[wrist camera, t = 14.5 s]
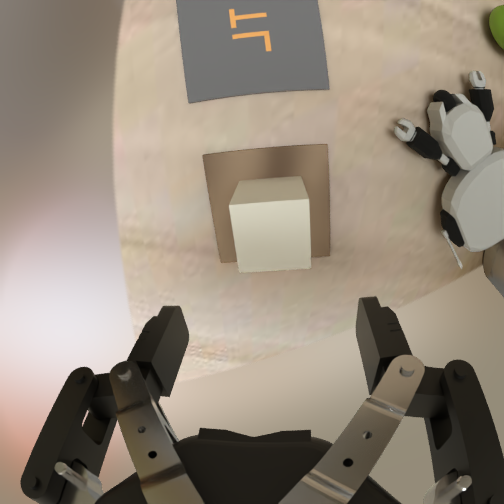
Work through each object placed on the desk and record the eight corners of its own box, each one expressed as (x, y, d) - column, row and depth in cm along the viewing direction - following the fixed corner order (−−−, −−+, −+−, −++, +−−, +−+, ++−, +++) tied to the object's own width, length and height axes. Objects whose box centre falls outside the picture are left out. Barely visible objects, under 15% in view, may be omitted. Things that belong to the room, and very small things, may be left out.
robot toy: (374, 126, 22) (445, 256, 26) (391, 128, 18) (465, 277, 22) (464, 66, 18) (520, 194, 21) (490, 61, 13) (545, 207, 17)
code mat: (311, -28, 15) (311, -29, 15) (328, 89, 20) (329, 89, 20) (176, -12, 16) (175, -13, 16) (189, 103, 21) (188, 103, 21)
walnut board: (326, 144, 22) (327, 144, 22) (329, 254, 27) (329, 255, 26) (203, 154, 23) (202, 155, 23) (221, 261, 28) (220, 263, 28)
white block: (301, 176, 23) (308, 199, 18) (304, 232, 26) (311, 268, 20) (239, 181, 24) (228, 205, 19) (246, 236, 26) (239, 273, 21)
